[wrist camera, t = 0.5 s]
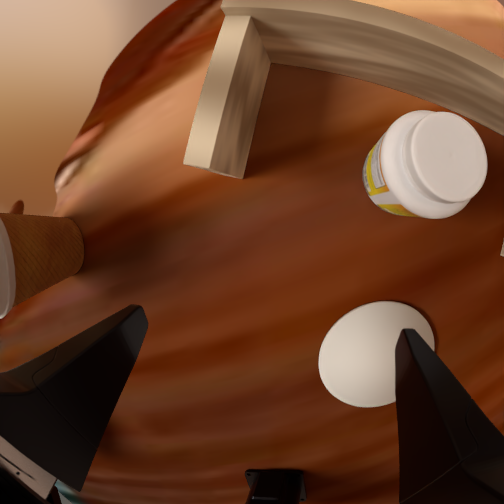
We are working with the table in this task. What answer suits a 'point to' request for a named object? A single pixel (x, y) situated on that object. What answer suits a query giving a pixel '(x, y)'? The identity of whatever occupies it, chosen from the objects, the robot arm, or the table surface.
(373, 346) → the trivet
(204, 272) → the table surface
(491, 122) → the wooden u-shaped barrier
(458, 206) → the supplement bottle
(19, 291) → the disposable coffee cup
